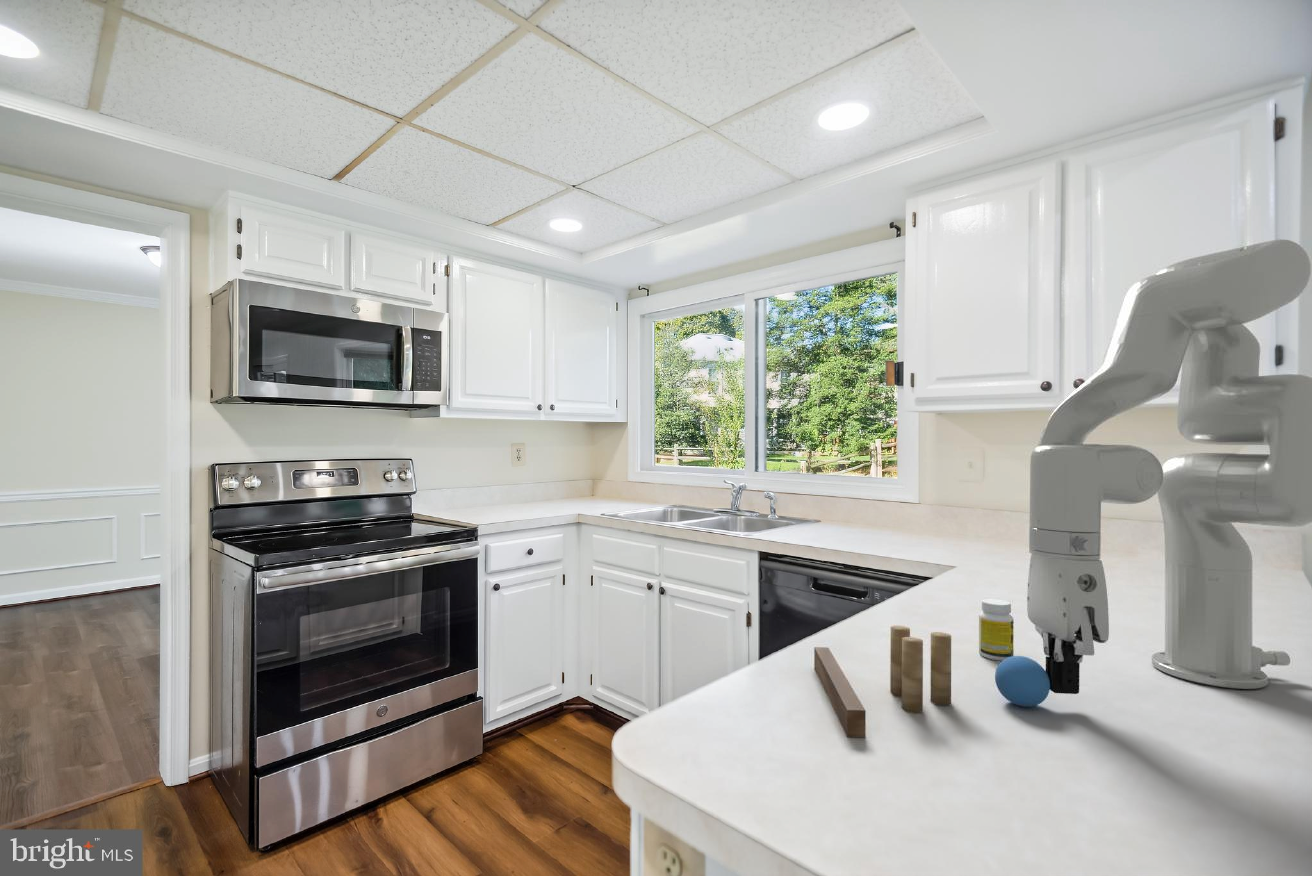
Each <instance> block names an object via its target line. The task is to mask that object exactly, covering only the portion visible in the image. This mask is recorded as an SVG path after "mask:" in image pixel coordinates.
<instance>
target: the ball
mask: <svg viewBox="0 0 1312 876" xmlns="http://www.w3.org/2000/svg"><path fill="white" fill-rule="evenodd" d="M994 674H995V675H994V679H995V680H994V681H995V685H996V688H997V690H998V692H999V693H1000V694H1001V696H1002V697H1003V698H1005V699H1006V701H1008V702H1009V703H1011V704H1014V705H1016V706H1018V707H1024V708H1029V707H1030V708H1031V707H1036V706H1038V705H1040V704H1042V703H1043V702H1044V701H1045V700H1046V699H1047V697H1048V695H1049V693H1050V691H1051V690H1050V681H1049V678H1048V675H1047V673H1046V669H1044V667H1043V666H1042V665H1041V664H1040V663H1038V662H1037V661H1036V660H1034V659H1032V658H1029V657H1027V656H1022V655H1013V656H1012V657H1009V658H1006V659H1004V660H1001V662H1000V663H999V664H998V665H997V667H996V670H995V673H994Z"/></svg>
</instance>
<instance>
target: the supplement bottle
mask: <svg viewBox="0 0 1312 876" xmlns="http://www.w3.org/2000/svg"><path fill="white" fill-rule="evenodd" d="M981 610H982V611H981V612H979V615H978V654H979V655H980V656H982V657H984V658H985V659H989V660H994V661H1003V660H1004V659H1006V658H1009V657H1012V656H1015V655H1014V652H1015V651H1014V637H1015V636H1014V623H1015V622H1014V617H1013V616H1012V614H1011V613H1012V603H1011V602H1009V601H1007V600H1003V599H995V598H986V599H985V598H984V599H981Z"/></svg>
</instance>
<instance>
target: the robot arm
mask: <svg viewBox="0 0 1312 876" xmlns="http://www.w3.org/2000/svg"><path fill="white" fill-rule="evenodd" d="M1310 260H1311V259H1310V257H1309V255H1308V253H1307V252H1306V250H1305V249H1304V247H1302V246H1301V245H1300V244H1298V243H1297V242H1295V241H1293V240H1290V239H1279V238H1278V239H1274V240H1268V241H1264V242H1259V243H1254V244H1251V245H1250V244H1249V245H1245V246H1242V247H1238V248H1233V249H1228V250H1224V251H1218V252H1213V253H1209V254H1204V255H1199V256H1197V257H1192V258H1189V259H1185V260H1180V261H1178V262H1175V263H1173V264H1171V265H1168V266H1166V267H1164V268H1162V269H1161V270H1160V271H1158V272H1157V273H1156V274H1153V275H1150V276H1148V277H1145V278H1143V279H1141V280H1139V281H1137V282H1135V283H1134V284H1133V285H1132V286H1131V287H1130V288H1129V290H1128V291H1127V292H1126V295H1125V296H1124V299H1123V300H1122V301H1123V302H1122V304H1121V307H1120V310H1119V314H1118V315H1117V319H1116V322H1115V325H1114V328H1113V330H1112V334H1111V336H1110V339H1109V343H1108V345H1107V347H1106V348H1107V349H1106V351H1105V353H1104V356H1103V359H1102V363H1101V365H1100V366H1099V369H1098V371H1097V372H1096V373H1094V374H1093V375H1092V376H1091V377H1090V378H1088V379H1087V380H1086V381H1084V382H1083V383H1081V384H1080V385H1079V387H1077V388H1076V389H1075V390H1074V391H1073V392H1071V394H1070V395H1069V396H1067V397H1066V398H1065V399H1064V401H1062V402H1061V403H1060V404H1059V405H1058V406H1057V407H1056V409H1054V410H1053V412H1052V413H1051V414H1050V416H1049V417H1048V419H1047V421H1046V423H1045V425H1044V427H1043V429H1042V432H1041V436H1040V438H1039V441H1038V445H1037V447H1035V448H1034V449H1033V450H1032V452H1031V455H1030V460H1029V461H1030V462H1029V464H1030V465H1029V466H1030V467H1029V469H1030V471H1029V472H1030V473H1029V530H1028V533H1029V536H1028V538H1029V539H1028V544H1029V546H1028V552H1029V553H1030V554H1031V556H1030V559H1029V568H1028V577H1027V590H1026V592H1027V593H1026V594H1027V596H1026V602H1027V603H1026V610H1027V617H1028V619H1029V621H1030V622H1031V623H1032V624H1033V625H1034V628H1035V631H1036V632H1037V633H1038V634H1039V635H1040V636H1041V638H1042V644H1043V646H1042V647H1043V648H1042V649H1043V652H1044V655H1045V671H1046V673H1047V675H1048V678H1049V681H1050V691H1051V693H1054V694H1067V695H1069V694H1070V695H1078V694H1079V693H1080V671H1081V670H1080V666H1081V665H1080V664H1081V663H1082V662H1083V658H1084V656H1092V657H1093V656H1094V655H1095V645H1094V642H1096V643H1100V644H1105V643H1107V642H1108V640H1109V634H1110V623H1109V618H1110V617H1109V601H1108V589H1107V581H1106V574H1105V569H1104V565H1103V561H1102V560H1101V550H1102V549H1101V544H1102V543H1101V541H1102V540H1101V539H1102V537H1101V534H1102V533H1101V530H1102V529H1101V528H1102V527H1101V524H1102V519H1101V518H1102V517H1101V516H1102V504H1103V503H1106V504H1107V503H1108V504H1116V505H1117V504H1119V505H1134V504H1139V503H1143V502H1145V501H1148V500H1150V499H1151V498H1153V497H1155V495H1157V498H1158V502H1159V506H1160V511H1161V516H1162V521H1163V531H1164V532H1163V533H1164V651H1158V652H1155V653H1153V654H1152V655H1151V664H1152V665H1153V667H1155V668H1156V669H1157V670H1160V671H1161V672H1163V673H1166V674H1167V675H1170V676H1174V677H1176V678H1180V679H1182V680H1186V681H1189V682H1190V681H1191V682H1195V683H1198V684H1202V685H1203V684H1204V685H1209V686H1213V687H1221V688H1227V689H1236V690H1237V689H1239V690H1241V689H1242V690H1255V689H1256V690H1257V689H1262V688H1265V687H1266V686H1268V684H1269V677H1268V675H1267V674H1266V673H1265V672H1264V671H1263V670H1262V668H1264V667H1266V666H1267V665H1271V666H1279V667H1281V666H1289V665H1290V664H1291V658H1290V655H1289V654H1288V653H1287V652H1285V651H1280V650H1279V651H1278V650H1277V651H1276V650H1267V651H1264V650H1263V649H1262V648H1261V647H1258V646H1255V645H1253V555H1252V552H1251V549H1250V546H1249V545H1248V543H1247V541H1246V540H1245V538H1244V537H1243V536H1242V534H1241V533H1240V532H1239V530H1238V529H1237V528H1236V527H1235V525H1233V524H1234V523H1239V524H1240V523H1241V524H1248V525H1249V524H1250V525H1260V526H1261V525H1262V526H1269V527H1273V526H1274V527H1284V528H1287V527H1288V528H1289V527H1290V528H1294V527H1295V528H1297V527H1303V526H1306V525H1308V524H1311V523H1312V377H1310V376H1307V375H1305V374H1304V375H1303V374H1292V373H1291V374H1290V373H1286V374H1270V375H1268V374H1267V375H1260V360H1261V357H1260V356H1261V346H1260V345H1261V344H1260V343H1259V340H1258V339H1257V338H1256V336H1255V335H1254V334H1253V333H1252V332H1251V330H1250V329H1248V328H1247V326H1245V324H1247V323H1250V322H1253V321H1256V320H1259V319H1260V318H1263V317H1264V316H1267V315H1269V314H1271V313H1272V312H1274V311H1277V310H1278V309H1280V308H1282V307H1284V306H1287V305H1288V304H1290V303H1291V302H1294V300H1295V299H1297V298H1298V297H1299V296H1300V295H1301V294H1302V293H1304V290H1305V289H1306V288H1307V285H1308V283H1309V281H1310V277H1311V273H1312V271H1311V270H1312V266H1311V261H1310ZM1180 371H1181V372H1180ZM1180 373H1181V374H1180ZM1179 374H1180V384H1179V394H1178V401H1177V402H1178V403H1177V413H1176V414H1177V416H1176V423H1177V429H1178V431H1179V434H1180V435H1181V436H1182V437H1183V438H1184V439H1185V440H1187V441H1189V442H1192V443H1196V444H1201V445H1204V444H1205V445H1216V446H1217V445H1218V446H1219V445H1220V446H1268V447H1269V453H1268V454H1267V453H1266V454H1265V453H1257V454H1256V453H1234V452H1232V453H1229V452H1228V453H1227V452H1223V453H1222V452H1220V453H1219V452H1193V453H1186V454H1185V453H1184V454H1180V455H1177V456H1174V457H1171V458H1169V459H1168V460H1166V461H1165V462H1164V463H1162V464H1161V462H1160V461H1159V459H1158V458H1157V456H1155V454H1153V453H1152V452H1151V451H1149V450H1147V449H1145V448H1142V447H1139V446H1136V445H1132V444H1131V445H1129V444H1099V443H1097V444H1095V443H1093V444H1092V443H1091V444H1089V443H1088V444H1087V443H1084V442H1085V441H1086V439H1087V437H1089V436H1090V434H1091V433H1092V432H1094V431H1095V430H1096V429H1097V428H1098V427H1099V426H1101V425H1102V424H1103V423H1105V422H1107V421H1108V420H1110V419H1112V418H1114V417H1116V416H1117V415H1119V414H1120V415H1121V414H1122V413H1125V412H1127V411H1129V410H1132V409H1134V408H1137V407H1139V406H1142V405H1144V404H1146V403H1148V402H1150V401H1154V400H1155V399H1157V398H1159V397H1161V396H1164V395H1165V394H1168V392H1170V391H1171V390H1172V389H1173V388H1174V386H1175V385H1176V383H1177V382H1178V377H1179Z"/></svg>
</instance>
